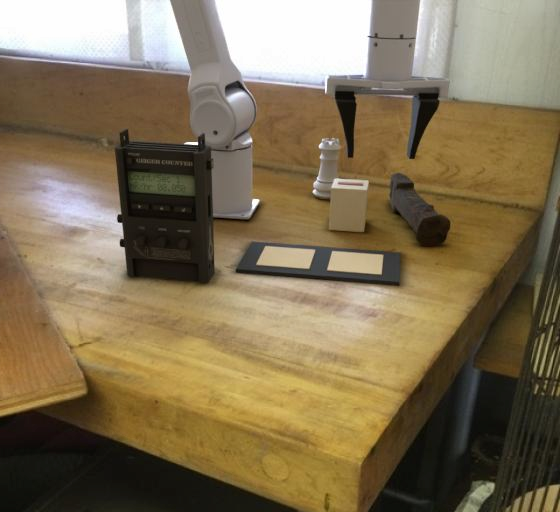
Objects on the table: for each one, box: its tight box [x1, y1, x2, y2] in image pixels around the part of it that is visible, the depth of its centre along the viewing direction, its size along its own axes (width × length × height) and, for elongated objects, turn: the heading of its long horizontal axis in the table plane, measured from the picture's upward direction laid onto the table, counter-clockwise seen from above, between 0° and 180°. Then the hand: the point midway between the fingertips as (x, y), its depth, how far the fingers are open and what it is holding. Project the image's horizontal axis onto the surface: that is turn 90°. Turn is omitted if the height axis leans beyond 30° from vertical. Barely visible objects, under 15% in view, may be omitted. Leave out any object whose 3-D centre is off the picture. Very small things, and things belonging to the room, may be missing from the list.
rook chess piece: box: [312, 137, 342, 200], centre depth 101 cm, size 4×4×8 cm
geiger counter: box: [114, 128, 216, 285], centre depth 72 cm, size 10×4×15 cm, turn 80°
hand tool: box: [389, 172, 451, 247], centre depth 92 cm, size 19×4×5 cm, turn 5°
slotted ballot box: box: [328, 178, 370, 233], centre depth 90 cm, size 4×4×6 cm
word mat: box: [235, 241, 402, 286], centre depth 80 cm, size 18×9×1 cm, turn 81°
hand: (380, 156), depth 87 cm, fingers open, 7 cm apart
